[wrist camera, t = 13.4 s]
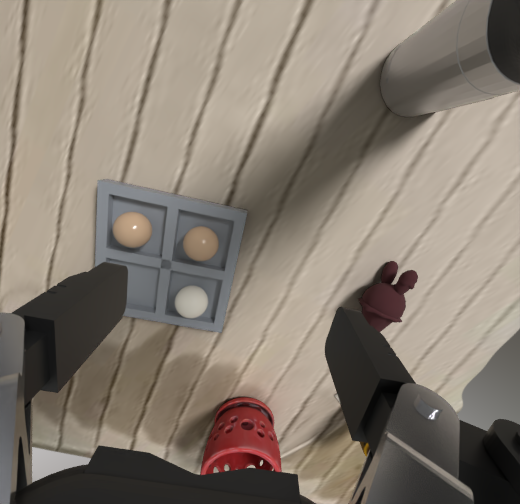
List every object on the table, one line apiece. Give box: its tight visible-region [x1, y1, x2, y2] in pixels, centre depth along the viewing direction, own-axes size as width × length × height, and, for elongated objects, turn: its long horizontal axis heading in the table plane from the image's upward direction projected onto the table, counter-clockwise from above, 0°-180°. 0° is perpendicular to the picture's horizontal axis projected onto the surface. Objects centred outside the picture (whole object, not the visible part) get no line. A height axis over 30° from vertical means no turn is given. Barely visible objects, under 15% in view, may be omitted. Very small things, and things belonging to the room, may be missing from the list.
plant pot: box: [200, 397, 281, 475], centre depth 49 cm, size 13×13×12 cm
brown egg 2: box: [183, 226, 219, 261], centre depth 39 cm, size 5×5×5 cm
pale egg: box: [175, 285, 208, 318], centre depth 42 cm, size 5×5×5 cm
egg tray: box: [95, 179, 247, 333], centre depth 42 cm, size 20×20×2 cm
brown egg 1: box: [113, 212, 152, 248], centre depth 38 cm, size 5×5×5 cm
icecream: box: [358, 261, 418, 332], centre depth 43 cm, size 7×7×15 cm
